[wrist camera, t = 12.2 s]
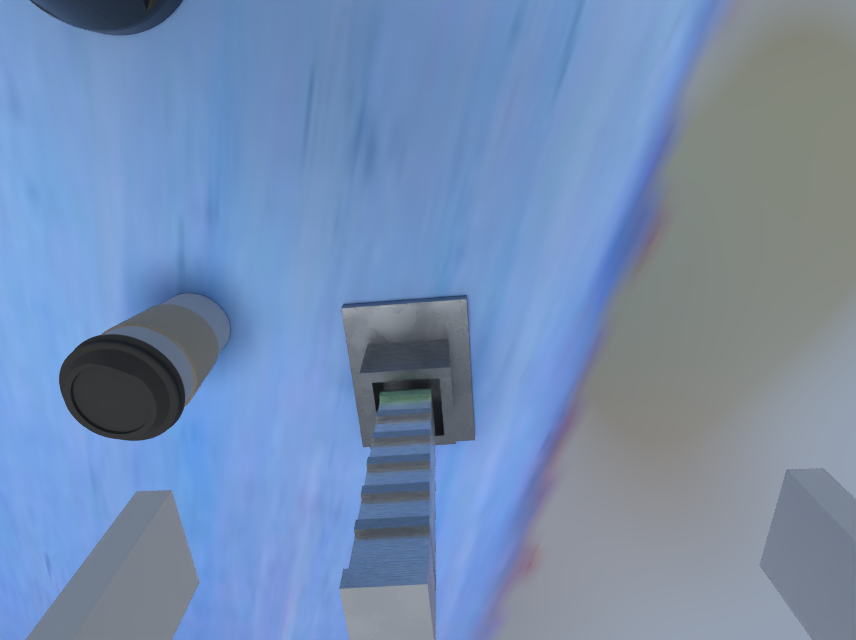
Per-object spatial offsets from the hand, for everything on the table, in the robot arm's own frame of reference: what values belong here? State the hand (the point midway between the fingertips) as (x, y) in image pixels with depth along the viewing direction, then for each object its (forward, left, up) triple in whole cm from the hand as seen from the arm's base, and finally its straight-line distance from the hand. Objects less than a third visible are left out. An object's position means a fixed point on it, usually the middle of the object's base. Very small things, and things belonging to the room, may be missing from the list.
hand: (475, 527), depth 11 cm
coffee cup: (-25, -9, -39) cm, 47 cm away
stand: (-4, -16, -38) cm, 42 cm away
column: (-4, -16, -31) cm, 35 cm away
